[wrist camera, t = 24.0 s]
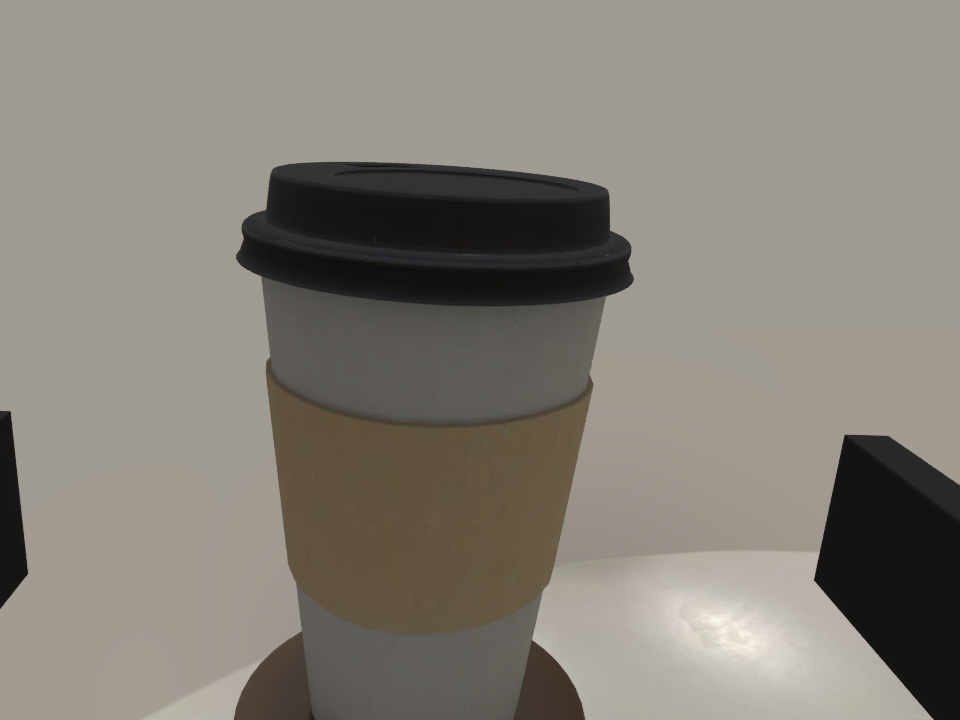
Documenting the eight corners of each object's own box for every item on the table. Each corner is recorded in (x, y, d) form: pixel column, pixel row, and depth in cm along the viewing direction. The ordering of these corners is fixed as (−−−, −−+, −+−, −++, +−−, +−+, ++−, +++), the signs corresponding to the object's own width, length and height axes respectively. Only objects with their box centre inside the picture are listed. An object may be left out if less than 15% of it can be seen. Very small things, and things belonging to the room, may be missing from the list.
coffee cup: (370, 579, 30) (383, 155, 26) (620, 668, 26) (686, 186, 22) (170, 746, 22) (137, 164, 17) (490, 911, 18) (553, 216, 14)
